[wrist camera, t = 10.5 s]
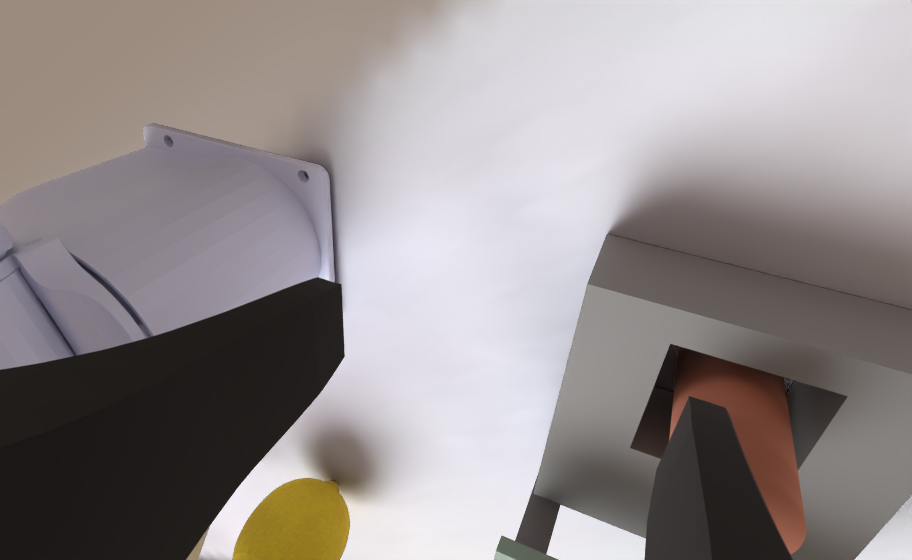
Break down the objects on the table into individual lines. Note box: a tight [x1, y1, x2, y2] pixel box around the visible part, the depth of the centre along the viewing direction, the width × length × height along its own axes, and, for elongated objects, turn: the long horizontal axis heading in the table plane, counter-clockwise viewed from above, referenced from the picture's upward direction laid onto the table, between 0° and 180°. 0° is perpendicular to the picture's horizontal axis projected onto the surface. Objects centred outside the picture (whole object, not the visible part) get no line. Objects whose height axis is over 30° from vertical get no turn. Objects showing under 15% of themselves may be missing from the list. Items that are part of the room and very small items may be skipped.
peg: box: [669, 346, 806, 554], centre depth 16 cm, size 3×3×7 cm
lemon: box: [232, 478, 350, 560], centre depth 30 cm, size 6×6×8 cm
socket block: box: [494, 234, 912, 560], centre depth 18 cm, size 11×12×7 cm
